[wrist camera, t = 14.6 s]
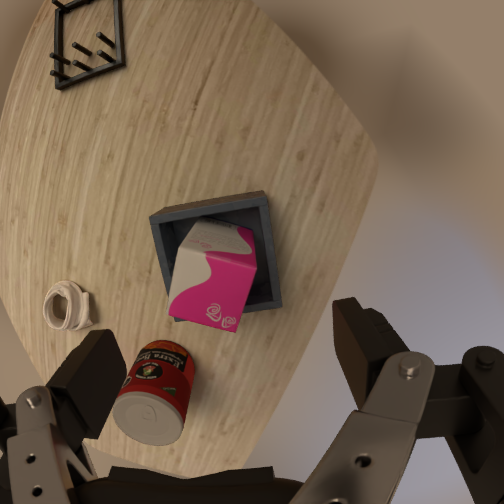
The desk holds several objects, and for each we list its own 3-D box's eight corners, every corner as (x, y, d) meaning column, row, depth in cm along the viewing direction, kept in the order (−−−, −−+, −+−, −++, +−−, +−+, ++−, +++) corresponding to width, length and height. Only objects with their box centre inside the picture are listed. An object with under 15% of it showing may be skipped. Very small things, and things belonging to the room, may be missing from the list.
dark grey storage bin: (163, 207, 33) (148, 216, 27) (263, 190, 33) (266, 195, 27) (184, 299, 36) (174, 322, 30) (277, 285, 35) (282, 307, 30)
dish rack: (59, 12, 25) (44, 2, 21) (121, -14, 25) (109, -28, 21) (60, 90, 29) (42, 85, 25) (125, 65, 28) (112, 55, 24)
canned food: (192, 338, 37) (176, 398, 27) (198, 388, 39) (188, 449, 29) (133, 336, 37) (102, 391, 27) (144, 385, 39) (122, 442, 29)
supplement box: (187, 266, 34) (161, 315, 23) (200, 213, 32) (177, 241, 21) (239, 280, 35) (236, 335, 24) (255, 229, 33) (259, 264, 22)
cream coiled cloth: (59, 323, 38) (42, 343, 33) (41, 280, 35) (21, 297, 31) (104, 322, 37) (88, 345, 32) (86, 275, 34) (66, 294, 30)
